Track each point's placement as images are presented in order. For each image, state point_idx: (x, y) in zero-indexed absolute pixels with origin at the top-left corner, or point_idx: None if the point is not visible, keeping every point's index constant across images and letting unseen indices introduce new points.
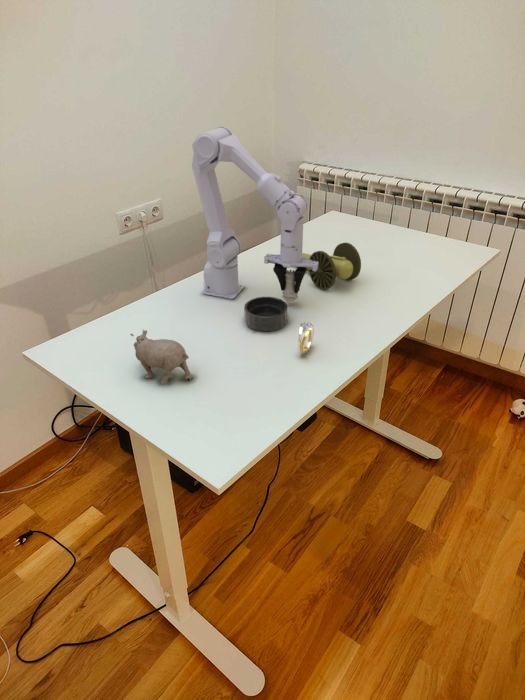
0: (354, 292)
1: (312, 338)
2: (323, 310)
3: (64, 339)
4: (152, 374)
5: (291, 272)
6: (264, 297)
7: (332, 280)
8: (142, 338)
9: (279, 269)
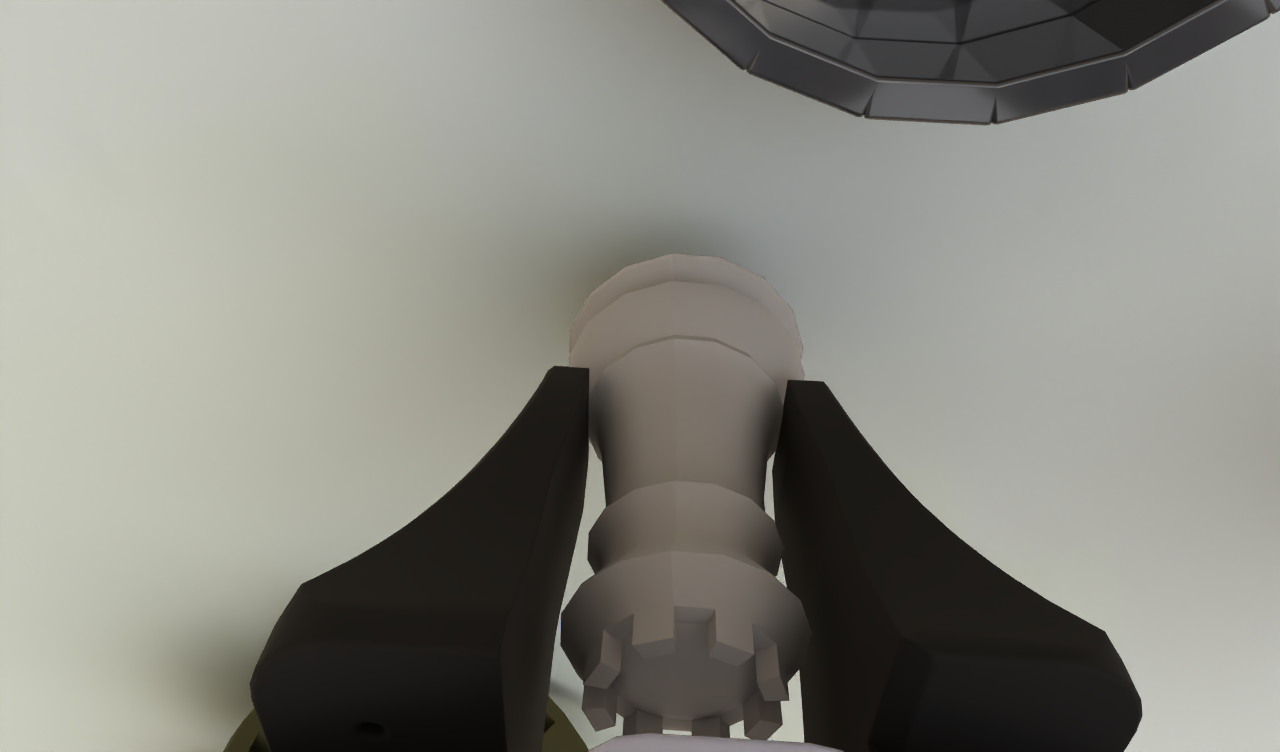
0: (148, 651)
1: None
2: (234, 270)
3: None
4: None
5: (673, 694)
6: (1111, 58)
7: (259, 725)
8: None
9: (957, 689)
